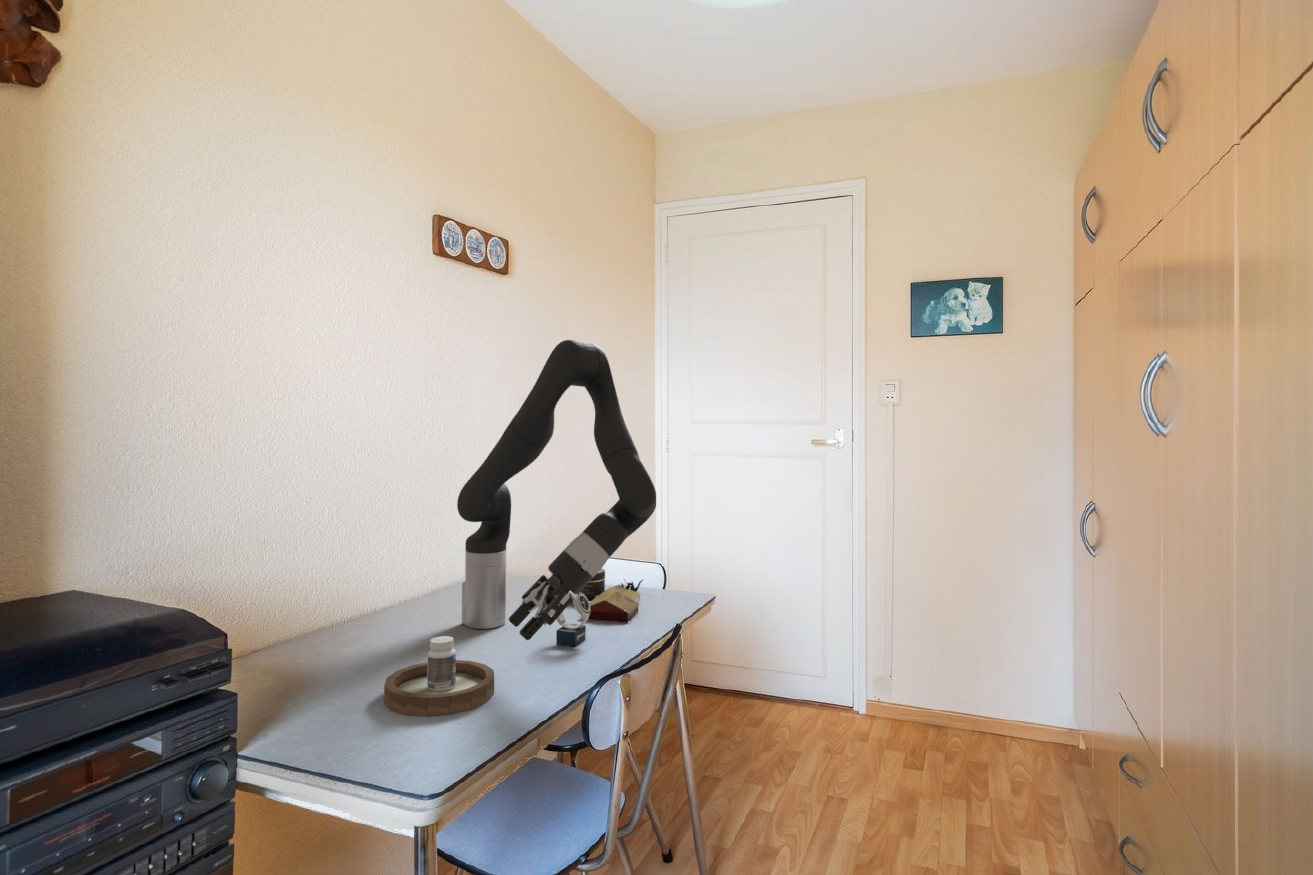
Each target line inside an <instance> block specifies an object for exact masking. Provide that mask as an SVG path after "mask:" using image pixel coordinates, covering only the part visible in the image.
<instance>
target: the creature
mask: <svg viewBox="0 0 1313 875" xmlns="http://www.w3.org/2000/svg"><path fill="white" fill-rule="evenodd" d="M643 581H644V579H641V580H640V581H638V584H637V586H635V585H634V581H631V582H627V580H626V579H624V583H625V585H624V584H623V583H620V585H621V586H622V587H624V588H626V589H630V590H633V591H635V592H638V590H639V588H640V586H641V583H642V582H643Z"/></svg>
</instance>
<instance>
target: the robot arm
mask: <svg viewBox="0 0 1313 875" xmlns="http://www.w3.org/2000/svg"><path fill="white" fill-rule="evenodd" d="M610 365H611V364H610V363H609V360H608V357H607V355H606V352H605V351H604V349H603V347H600V346H599V345H597V344H594V343H592V342H588V341H587V342H586V341H582V340H581V341H580V340H576V339H565V340H563V341H560V342H559V343H558V344H557V345H556V346H555V347H554V348H553V350H552V351H551V353H550V354H549V356H548V358H547V360H546V362H545V364H543V367H542V370H541V371H540V374H539V375H538V378H537V380H536V381H535V383H534V385H533V387H532V389H531V390H530V391H529V393H528V395H527V397H526V398H525V400H524V401H523V404H521V406H520V408H519V410H518V411H517V413H516V414H515V415H514V416H513V418H512V419H511V421H510V422H509V424H508V425H507V427H506V428H505V430H504V431H503V433H502V435H501V437H500V438H499V440H498V441H497V442H496V444H495V445H494V447H493V449H491V451H490V453H489V454H488V455H487V457H486V458H485V460H484V461H483V463H481V465H480V466H479V467H478V468H477V470H475V472H474V473H473V474H472V476H470V477H469V479H468V480H467V482H465V484H464V485H463V486H462V488H461V489H460V491H459V494H458V498H457V502H456V505H457V507H456V508H457V512H458V515H459V516H460V517H461V518H462V519H463V520H464V521H466V522H470V523H479V522H480V523H481V524H480V526H479V528H478V529H477V530H476V531H475V532H474V533H473V534H471V535H469V536H468V537H467V538H466V539H465V557H464V559H465V562H464V563H465V566H464V567H465V568H464V569H465V571H464V573H465V574H464V575H465V578H464V580H465V581H462V583H461V624H464V625H465V626H466V627H467V628H469V629H477V630H478V629H480V630H484V629H494V628H499V627H502V626H504V625H505V624H506V610H507V609H506V608H507V606H506V604H507V594H506V593H507V544H508V540H509V538H510V533H511V531H510V530H511V516H512V496H511V492H510V490H509V487H508V486H507V485H506V483H507V481H509V480H510V479H511V478H513V477H514V476H516V475H518V474H520V472H522V471H523V470H525V469H526V468H527V467H528V466H530V465H531V464H532V463H533V462H534V461H536V460H537V459H538V457H540V455H541V454H542V453H543V451H544V449H545V448H546V446H547V445H548V444H549V442H550V441H551V439H552V437H553V434H554V431H555V430H554V429H555V410H556V406H557V404H558V403H559V401H560V399H561V398H562V396H563V395H564V393H566V391H567V390H568V389H569V388H570V387H571V386H573V387H582V388H583V387H584V388H585V389H586V391H587V393H588V394H589V396H590V398H591V401H592V403H593V405H594V406H593V407H594V424H593V436H594V442H595V445H596V449H597V451H598V453H599V456H600V458H601V460H602V463H603V466H604V467H605V469H606V471H607V473H608V474H609V475H610V478H611V480H612V482H613V485H614V487H615V491H616V493H617V496H618V500H617V501H616V503H615V504H614V505H613V506H612V507H610V508H609V510H608V511H607V512H603V513H601V514H599V515H597V516H596V517H595V518H594V519H593V520H592V521H591V522H590V524H588V525H587V527H586V528H584V530H583V531H582V532H581V533H580V534H579V535H578V536H576V537H575V538H574V539H573V540H571V541H570V543H569V544H567V546H566V547H565V548H564V549H563V550H562V551H561V552H560V553H559V554H558V555H557V557H555V559H554V560H552V562H551V563H550V564H549V565H548V571H549V572H550V573H551V576H549V578H548V577H547V576H546V575H545V574H542V575H541V576H540V577H539V578H538V579H537V580H536V581H535V583H533V584H532V585H531V587H530V588H528V589H527V590H526V592H525V593H523V594H522V596H521V599H522V601H521V604H520V606H518V607H517V609H516V610H515V611H513V612H512V614H511V615H510V616H509V617H508V621H509V623H511V625H513V626H514V627H519V626H520V625H521V624H522V623H523V621H525V619H526V618H527V617H528V616H529V615H530V614H531V612H532V611H535V610H536V609H537V610H536V612H535V614H534V616H532V617H531V618H530V619H529V620H528V622H527V623H525V624H524V626H523V627H522V628H520V630H519V635H520V636H521V637H522V638H524V640H526V641H530V640H531V639H532V638H533V636H534V635H535V634H536V633H537V632H538V631H539V630H540V629H541V628H542V627H543V626H546V625H549V626H551V625H553V624H554V622H555V621H557V618H558V617H559V615H560V614H561V613H563V612H564V611H565V610H566V609H567V607H568V606H569V605H570V604H571V603H572V602H573V600H572V598H571V597H570V596H569V594H568V593H569V591H571V592H572V593H574V594H579V593H580V592H581V590H582V589H583V588H584V587H585V586H586V585H587V584H588V583H589V582H590V581H591V579H592V578H593V577H594V576H595V575H596V574H597V573H598V572H599V571H600V570H601V568H602V569H603V568H604V566H605V564H606V563H607V561H608V560H609V559H610V558H611V557H612V556H613V555H614V553H615V552H616V551H618V548H620V546H621V545H622V544H623V543H624V542H625V540H626V539H627V538H628V537H631V535H632V534H634V533H635V532H636V531H637V530H638V529H640V527H642V525H644V524H645V523H646V522H647V521H648V520H649V518H651V516H652V515H653V514H654V512H655V510H656V507H657V492H656V488H655V486H654V483H653V481H652V479H651V476H650V475H649V473H648V471H647V469H646V467H645V466H644V464H643V463H642V461H641V459H640V455H639V452H638V450H637V447H636V445H635V442H634V440H633V439H632V436H631V434H630V432H629V430H628V427H627V424H626V422H625V419H624V416H623V414H622V409H621V404H620V402H619V397H618V394H617V393H618V392H617V390H616V386H615V382H614V378H613V374H612V370H611V366H610Z"/></svg>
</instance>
